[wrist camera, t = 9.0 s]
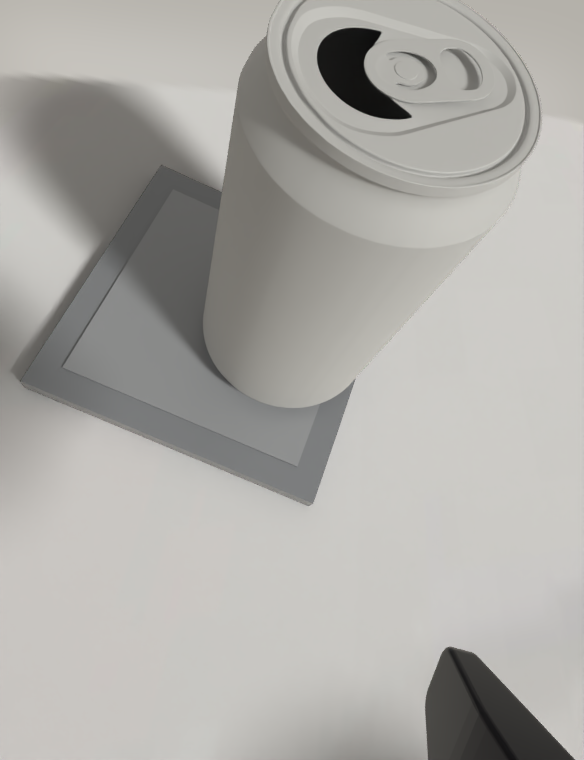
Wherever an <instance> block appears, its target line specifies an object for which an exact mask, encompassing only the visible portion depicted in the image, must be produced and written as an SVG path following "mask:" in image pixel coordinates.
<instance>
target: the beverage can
mask: <svg viewBox="0 0 584 760" xmlns="http://www.w3.org/2000/svg"><path fill="white" fill-rule="evenodd" d="M541 128H542V107H541V101H540V96H539V92H538V89H537V87H536V84H535V81H534V79H533V76H532V75H531V73H530V71H529V69H528V67H527V65H526V64H525V62H524V60H523V59H522V57H521V56H520V54H519V53H518V52H517V51H516V49H515V48H514V47H513V45H512V44H511V43H510V42H509V41H508V40H507V38H506V37H505V36H504V35H503V34H502V33H501V32H500V31H498V29H497V28H496V27H495V26H494V25H492V24H491V23H490V22H489V21H488V20H487V19H485V18H484V17H483V16H482V15H480V14H479V13H478V12H476V11H475V10H474V9H472V8H471V7H469V6H468V5H466V4H465V3H463V2H461V1H460V0H280V1H279V3H278V5H277V6H276V8H275V10H274V12H273V14H272V16H271V18H270V21H269V24H268V30H267V35H266V37H265V38H264V39H262V41H260V43H259V44H257V46H256V47H255V48H254V50H253V51H252V53H251V55H250V56H249V58H248V60H247V62H246V64H245V65H244V68H243V69H242V72H241V75H240V78H239V83H238V90H237V96H236V103H235V109H234V116H233V123H232V129H231V136H230V142H229V149H228V156H227V162H226V169H225V176H224V182H223V189H222V195H221V202H220V209H219V215H218V222H217V229H216V235H215V242H214V248H213V255H212V262H211V268H210V275H209V282H208V288H207V295H206V301H205V308H204V315H203V333H204V339H205V343H206V347H207V350H208V352H209V355H210V357H211V359H212V361H213V363H214V364H215V366H216V367H217V369H218V370H219V371H220V373H221V374H222V375H223V376H224V377H225V378H226V379H227V381H228V382H230V383H231V384H232V385H233V386H234V387H235V388H236V389H238V390H239V391H241V392H242V393H244V394H245V395H247V396H249V397H251V398H253V399H255V400H257V401H259V402H262V403H265V404H268V405H272V406H276V407H284V408H304V407H309V406H314V405H317V404H320V403H323V402H326V401H328V400H330V399H332V398H333V397H335V396H337V395H338V394H340V393H341V392H342V391H344V390H345V389H346V388H347V387H348V386H349V385H350V384H351V383H352V382H353V380H354V379H355V378H356V377H357V376H358V375H359V374H360V373H361V372H362V371H363V369H364V368H365V367H366V366H367V365H368V364H369V363H370V362H371V361H372V360H373V359H374V357H375V356H376V355H377V354H378V353H379V352H380V351H381V350H382V349H383V348H384V346H385V345H386V344H387V343H388V342H389V341H390V340H391V339H392V338H393V337H394V335H395V334H396V333H397V332H398V331H399V330H400V329H401V328H402V327H403V326H404V324H405V323H406V322H407V321H408V320H409V319H410V318H411V317H412V316H413V315H414V313H415V312H416V311H417V310H418V309H419V308H420V307H421V306H422V305H423V304H424V302H425V301H426V300H427V299H428V298H429V297H430V296H431V295H432V294H433V293H434V292H435V290H436V289H437V288H438V287H439V286H440V285H441V284H442V283H443V282H444V281H445V279H446V278H447V277H448V276H449V275H450V274H451V273H452V272H453V271H454V270H455V268H456V267H457V266H458V265H459V264H460V263H461V262H462V261H463V260H464V259H465V257H466V256H467V255H468V254H469V253H470V252H471V251H472V250H473V249H474V248H475V246H476V245H477V244H478V243H479V242H480V241H481V240H482V239H483V238H484V237H485V236H486V234H487V233H488V232H489V231H490V230H491V229H492V228H493V227H494V226H495V225H496V223H497V222H498V221H499V220H500V219H501V218H502V217H503V216H504V214H505V213H506V212H507V210H508V209H509V207H510V206H511V204H512V202H513V200H514V198H515V195H516V192H517V189H518V185H519V181H520V174H521V167H522V165H523V164H524V163H525V162H526V161H527V159H528V158H529V157H530V155H531V154H532V153H533V151H534V149H535V147H536V145H537V143H538V140H539V137H540V133H541Z"/></svg>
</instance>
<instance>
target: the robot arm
mask: <svg viewBox="0 0 584 760" xmlns="http://www.w3.org/2000/svg"><path fill="white" fill-rule="evenodd" d="M425 714H426V731H427V749H428V760H575V759H574V758H573V757H572V756H571V755H570V754H569V753H568V752H567V751H566V750H565V749H564V748H563V746H562V745H561V744H560V743H559V742H558V741H557V740H556V739H555V738H554V737H553V736H552V735H551V734H550V733H549V732H548V731H547V730H546V728H545V727H544V726H543V725H542V724H541V723H540V722H539V721H538V720H537V719H536V718H535V717H534V716H533V715H532V714H531V713H530V711H529V710H528V709H527V708H526V707H525V706H524V705H523V704H522V703H521V702H520V701H519V700H518V699H517V698H516V697H515V696H514V695H513V693H512V692H511V691H510V690H509V689H508V688H507V687H506V686H505V685H504V684H503V683H502V682H501V681H500V680H499V679H498V678H497V676H496V675H495V674H494V673H493V672H492V671H491V670H490V669H489V668H488V667H487V666H486V665H485V664H484V663H483V662H482V661H481V660H480V658H479V657H478V656H477V655H475V654H474V653H472V652H468V651H465V650H461V649H457V648H454V647H448V648H446V649H445V650H444V651H443V652H442V654H441V657H440V659H439V662H438V664H437V667H436V670H435V672H434V675H433V677H432V680H431V683H430V685H429V688H428V691H427V695H426V702H425Z"/></svg>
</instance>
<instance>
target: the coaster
mask: <svg viewBox="0 0 584 760" xmlns="http://www.w3.org/2000/svg"><path fill="white" fill-rule="evenodd" d="M221 195H222V192H220V191H218V190H215V189H213V188H211V187H209V186H207V185H204V184H202V183H200V182H198V181H196V180H193V179H191V178H189V177H187V176H185V175H182V174H180V173H178V172H176V171H174V170H171V169H169V168H167V167H165V166H163V165H161V166H160V168H159V169H158V171H157V172H156V174H155V176H154V177H153V179H152V180H151V182H150V183H149V185H148V186H147V188H146V189H145V191H144V192H143V194H142V195H141V197H140V198H139V200H138V202H137V203H136V205H135V206H134V208H133V209H132V211H131V212H130V214H129V215H128V217H127V218H126V220H125V221H124V223H123V225H122V226H121V228H120V229H119V231H118V232H117V234H116V235H115V237H114V238H113V240H112V241H111V243H110V244H109V246H108V248H107V249H106V251H105V252H104V254H103V255H102V257H101V258H100V260H99V261H98V263H97V264H96V266H95V267H94V269H93V270H92V272H91V274H90V275H89V277H88V278H87V280H86V281H85V283H84V284H83V286H82V287H81V289H80V290H79V292H78V293H77V295H76V297H75V298H74V300H73V301H72V303H71V304H70V306H69V307H68V309H67V310H66V312H65V313H64V315H63V316H62V318H61V320H60V321H59V323H58V324H57V326H56V327H55V329H54V330H53V332H52V333H51V335H50V336H49V338H48V339H47V341H46V342H45V344H44V346H43V347H42V349H41V350H40V352H39V353H38V355H37V356H36V358H35V359H34V361H33V362H32V364H31V365H30V367H29V369H28V370H27V372H26V373H25V375H24V376H23V378H22V379H21V383H22V384H23V386H24V387H25V388H28V389H30V390H32V391H35V392H37V393H40V394H42V395H44V396H47V397H49V398H52V399H54V400H56V401H59V402H61V403H64V404H66V405H68V406H71V407H73V408H76V409H78V410H80V411H83V412H85V413H87V414H90V415H92V416H95V417H97V418H99V419H102V420H104V421H107V422H109V423H111V424H114V425H116V426H119V427H121V428H123V429H126V430H128V431H131V432H133V433H135V434H138V435H140V436H143V437H145V438H147V439H150V440H152V441H154V442H157V443H159V444H162V445H164V446H166V447H169V448H171V449H174V450H176V451H178V452H181V453H183V454H186V455H188V456H190V457H193V458H195V459H198V460H200V461H202V462H205V463H207V464H210V465H212V466H214V467H217V468H219V469H221V470H224V471H226V472H229V473H231V474H233V475H236V476H238V477H241V478H243V479H245V480H248V481H250V482H253V483H255V484H257V485H260V486H262V487H265V488H267V489H269V490H272V491H274V492H277V493H279V494H281V495H284V496H286V497H288V498H291V499H293V500H296V501H298V502H300V503H303V504H305V505H308V506H310V505H311V504H313V502H314V499H315V496H316V493H317V490H318V487H319V484H320V482H321V479H322V476H323V473H324V470H325V467H326V464H327V461H328V458H329V455H330V452H331V449H332V446H333V443H334V440H335V437H336V435H337V432H338V429H339V426H340V423H341V420H342V417H343V414H344V411H345V408H346V405H347V402H348V399H349V396H350V393H351V390H352V388H353V385H354V382H355V379H356V378H355V379H354V380H353V382H352V383H351V384H350V385H349V386H348V387H347V388H346V389H345V390H344V391H342V392H341V393H340V394H338V395H337V396H335V397H333V398H332V399H330V400H328V401H326V402H323V403H320V404H317V405H314V406H309V407H304V408H284V407H276V406H272V405H268V404H265V403H262V402H259V401H257V400H255V399H253V398H251V397H249V396H247V395H245V394H244V393H242V392H241V391H239V390H238V389H236V388H235V387H234V386H233V385H232V384H231V383H230V382H228V381H227V379H226V378H225V377H224V376H223V375H222V374H221V373H220V371H219V370H218V369H217V367H216V366H215V364H214V363H213V361H212V359H211V357H210V355H209V352H208V350H207V347H206V343H205V339H204V333H203V315H204V308H205V301H206V295H207V288H208V282H209V275H210V268H211V262H212V255H213V248H214V242H215V235H216V229H217V222H218V215H219V209H220V202H221Z"/></svg>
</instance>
